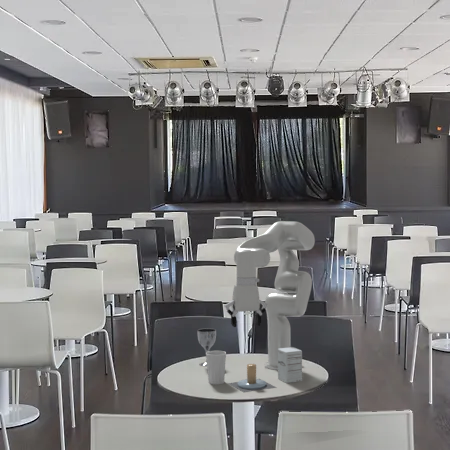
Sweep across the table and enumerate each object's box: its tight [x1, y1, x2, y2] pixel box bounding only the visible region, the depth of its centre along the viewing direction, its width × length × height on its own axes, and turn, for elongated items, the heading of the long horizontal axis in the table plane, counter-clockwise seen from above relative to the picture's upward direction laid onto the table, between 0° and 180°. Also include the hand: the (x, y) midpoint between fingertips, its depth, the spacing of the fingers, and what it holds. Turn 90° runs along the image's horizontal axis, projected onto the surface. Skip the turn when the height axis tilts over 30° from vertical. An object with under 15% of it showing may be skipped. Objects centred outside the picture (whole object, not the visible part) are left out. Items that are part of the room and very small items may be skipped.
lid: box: [237, 363, 266, 389], centre depth 300 cm, size 11×11×8 cm
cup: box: [205, 350, 227, 385], centre depth 306 cm, size 8×8×12 cm
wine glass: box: [197, 327, 217, 367], centre depth 336 cm, size 8×8×15 cm
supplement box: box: [277, 346, 303, 384], centre depth 308 cm, size 7×7×13 cm
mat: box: [227, 378, 277, 393], centre depth 301 cm, size 14×14×1 cm
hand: (246, 325), depth 301 cm, fingers open, 9 cm apart
